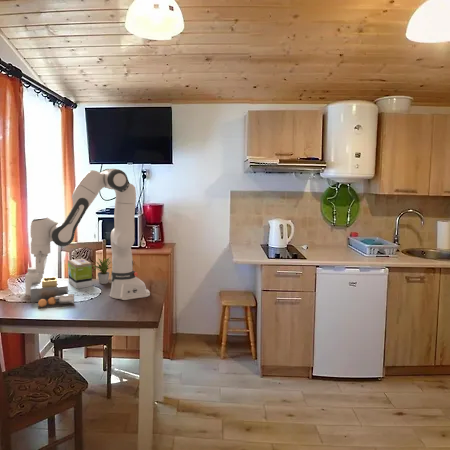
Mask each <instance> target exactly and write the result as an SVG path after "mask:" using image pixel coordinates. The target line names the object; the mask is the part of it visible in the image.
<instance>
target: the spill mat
mask: <svg viewBox="0 0 450 450" xmlns="http://www.w3.org/2000/svg"><path fill="white" fill-rule="evenodd" d="M65 307H66V308H69V307H75V303H74V304H64V305H59V301H56V303H55V304H54V305H49V304H48V302H47V304H46V306H44V307H40V306H39V305H38V307H37V309H38V310H43V309H45V310H46V309H54V308H65Z"/></svg>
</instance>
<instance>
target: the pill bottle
mask: <svg viewBox="0 0 450 450" xmlns="http://www.w3.org/2000/svg"><path fill="white" fill-rule="evenodd" d="M24 280H25V282H24V284H25V285H24V286H25V287H24V288H25V290H24V291H25V296H30V297H31V290H30V289H31V286H32V283H36V282H42V279H39V276H38V272H36V266H32V267H28V268H27V272H26V273H25V276H24Z"/></svg>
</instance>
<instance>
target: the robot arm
mask: <svg viewBox="0 0 450 450" xmlns="http://www.w3.org/2000/svg"><path fill="white" fill-rule="evenodd" d="M105 188H106V189H108V190H114V193H115V203H114V210H113V211H114V212H113V213H114V214H113V219H114V223H113V224H114V227H113V229H112V230H111V232H110V247H111V248H110V249H111V258H112V259H111V261H112V262H111V265H112V266H111V268H112V270H111V274H110V276H111V277H110V280H111V287H110V292H109V297H110V298H112V299H116V300H118V299H119V300H123V301H127V300H134V299H141V298H147V297H150V296H151V292H150V290H149V289H148V288H147V287H146V286H147V285H146V284H145V282H144V281H143V280H141V279H140V278H139V277H137V276H138V271H135V270H134V269H133V253H132V252H133V251H132V246H134V244H135V240H136V239H135V236H136V235H135V234H136V233H135V229H136V228H135V213H136V204H137V203H136V202H137V191H136V187H135V185H134V184H132V183H130V180H129V178H128V176H127V173H126V172H124V170H121V169H117V168H106V169H103V170H101V171H97V170H89V171H88V172H86V173H85V174H84V175H83V177H82V178H81V179H80V180H79V182H78V183H77V185H76V186H75V188H74V190H73V191H72V192H73V193H72V195H71V199H72V207H71V210H70V212H69V213H68V215H67V216H66V217H65V220H64V222H63V223H62V222H58V221H54V220H52V219H51V218H49V217H48V216H41V217H40V216H39V217H35V218H34V219H32V221H31V222H30V223H31V224H30V238H31V241H30V253H31V254H32V255H33V257H34V258H35V267H36V272H38V276H39V279H41V280H42V279H43V278H44V273H45V268H46V263H47V259H48V258H47V257H48V256H49V254H51V242H53V244H55V245H56V246H58V247H66V246H69V245H71V243H73V241H74V239H75V234H76V230H77V228H78V226H79V224H80V222H81V221H82V218H83V217H84V215H85V213H86V212H87V210H88V209H89V208H90V206H91V205H92V203H93V202H94V201H95V199H96V198H97V195H98V194H99V193H100V192H101V190H103V189H105Z"/></svg>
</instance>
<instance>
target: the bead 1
mask: <svg viewBox="0 0 450 450" xmlns="http://www.w3.org/2000/svg"><path fill="white" fill-rule="evenodd" d="M47 303H48V302H47V301H46V300H45V299H41V300H39V302H37V305H38V306H40V307H44V306H46V304H47Z"/></svg>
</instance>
